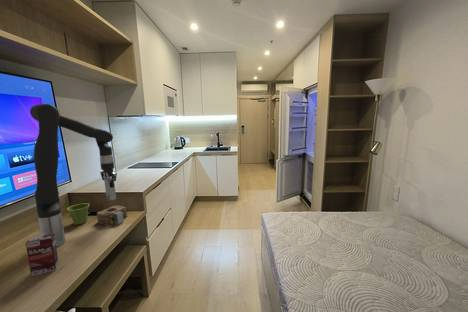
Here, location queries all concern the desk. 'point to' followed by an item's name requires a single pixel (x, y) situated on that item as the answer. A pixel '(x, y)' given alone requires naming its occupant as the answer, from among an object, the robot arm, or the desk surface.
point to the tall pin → (109, 191)
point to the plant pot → (79, 213)
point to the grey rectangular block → (118, 217)
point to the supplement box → (42, 254)
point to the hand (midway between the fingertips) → (109, 186)
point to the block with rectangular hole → (110, 214)
